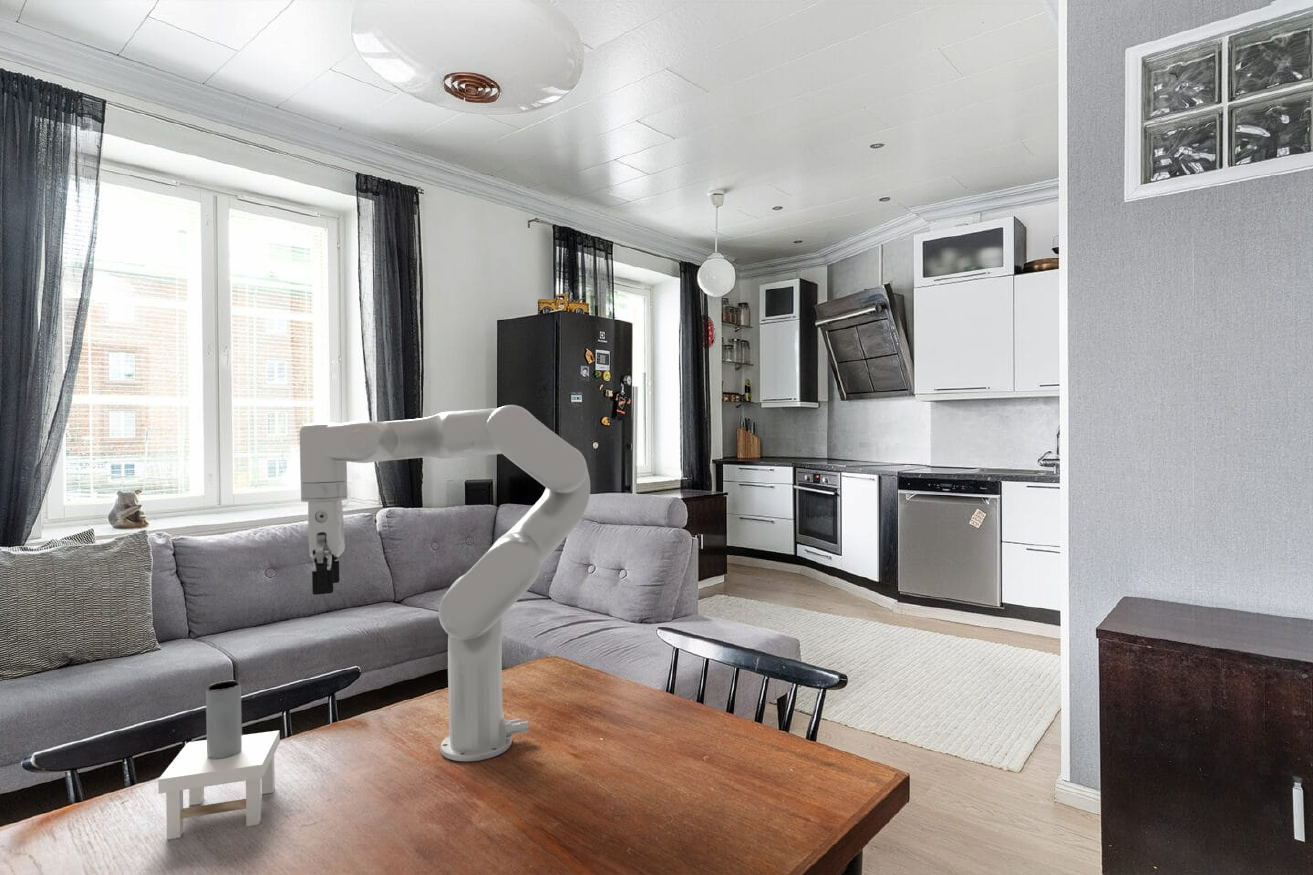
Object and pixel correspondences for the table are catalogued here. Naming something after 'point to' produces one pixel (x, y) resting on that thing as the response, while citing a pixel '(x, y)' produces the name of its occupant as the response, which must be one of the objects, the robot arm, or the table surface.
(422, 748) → the table surface
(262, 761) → the stool
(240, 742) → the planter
